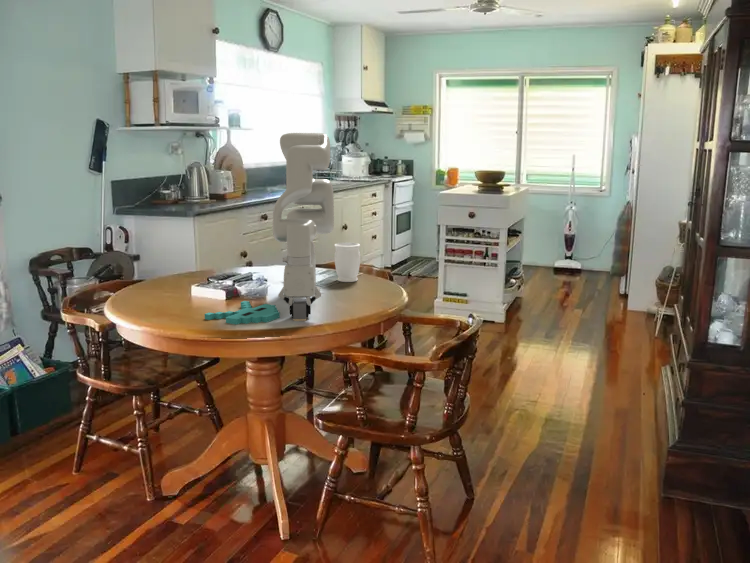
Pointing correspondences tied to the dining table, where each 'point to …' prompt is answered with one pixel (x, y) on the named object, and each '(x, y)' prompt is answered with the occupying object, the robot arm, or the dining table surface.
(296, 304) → the block
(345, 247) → the jar
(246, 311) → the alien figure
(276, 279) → the dining table surface
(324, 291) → the dining table surface
